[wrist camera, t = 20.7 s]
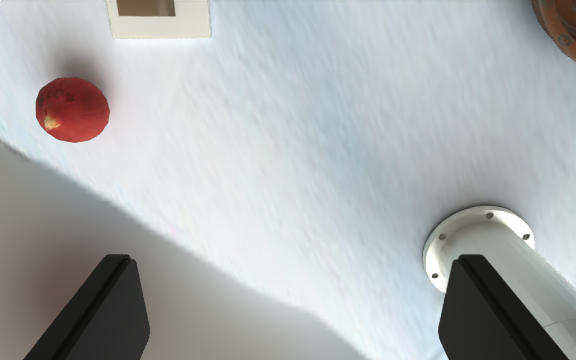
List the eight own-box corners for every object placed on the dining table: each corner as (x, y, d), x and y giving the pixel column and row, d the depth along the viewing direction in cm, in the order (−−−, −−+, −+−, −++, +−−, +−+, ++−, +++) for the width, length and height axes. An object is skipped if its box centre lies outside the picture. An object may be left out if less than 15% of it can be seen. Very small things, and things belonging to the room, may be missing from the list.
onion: (52, 90, 37) (-8, 108, 29) (96, 61, 35) (45, 71, 28) (91, 139, 39) (45, 167, 31) (134, 112, 37) (96, 135, 30)
